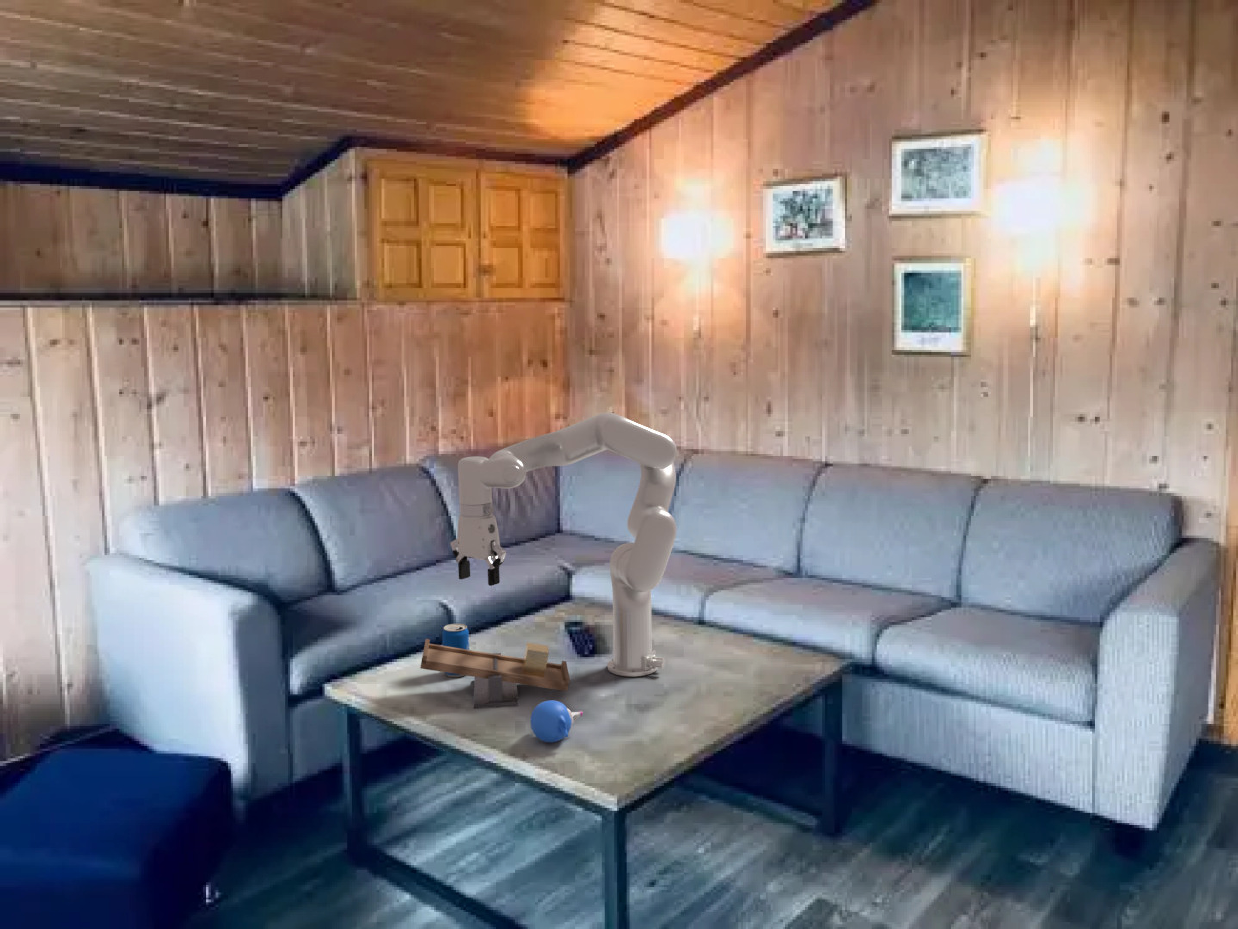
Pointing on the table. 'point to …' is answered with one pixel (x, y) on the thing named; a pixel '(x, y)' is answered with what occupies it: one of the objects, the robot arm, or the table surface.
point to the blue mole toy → (552, 721)
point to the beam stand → (494, 692)
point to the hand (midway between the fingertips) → (479, 581)
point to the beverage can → (455, 639)
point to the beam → (491, 666)
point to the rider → (535, 659)
